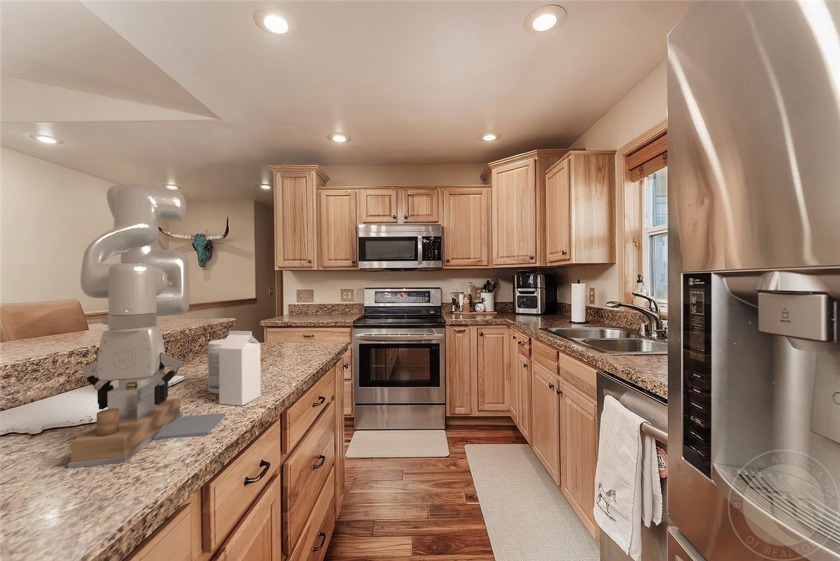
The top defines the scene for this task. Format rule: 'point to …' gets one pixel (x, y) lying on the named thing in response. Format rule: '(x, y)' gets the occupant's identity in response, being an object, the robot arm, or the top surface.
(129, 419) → the grey block with knob
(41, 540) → the top surface
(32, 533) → the top surface
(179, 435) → the mat
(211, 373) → the supplement tub
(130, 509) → the top surface
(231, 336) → the milk carton
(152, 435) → the body
